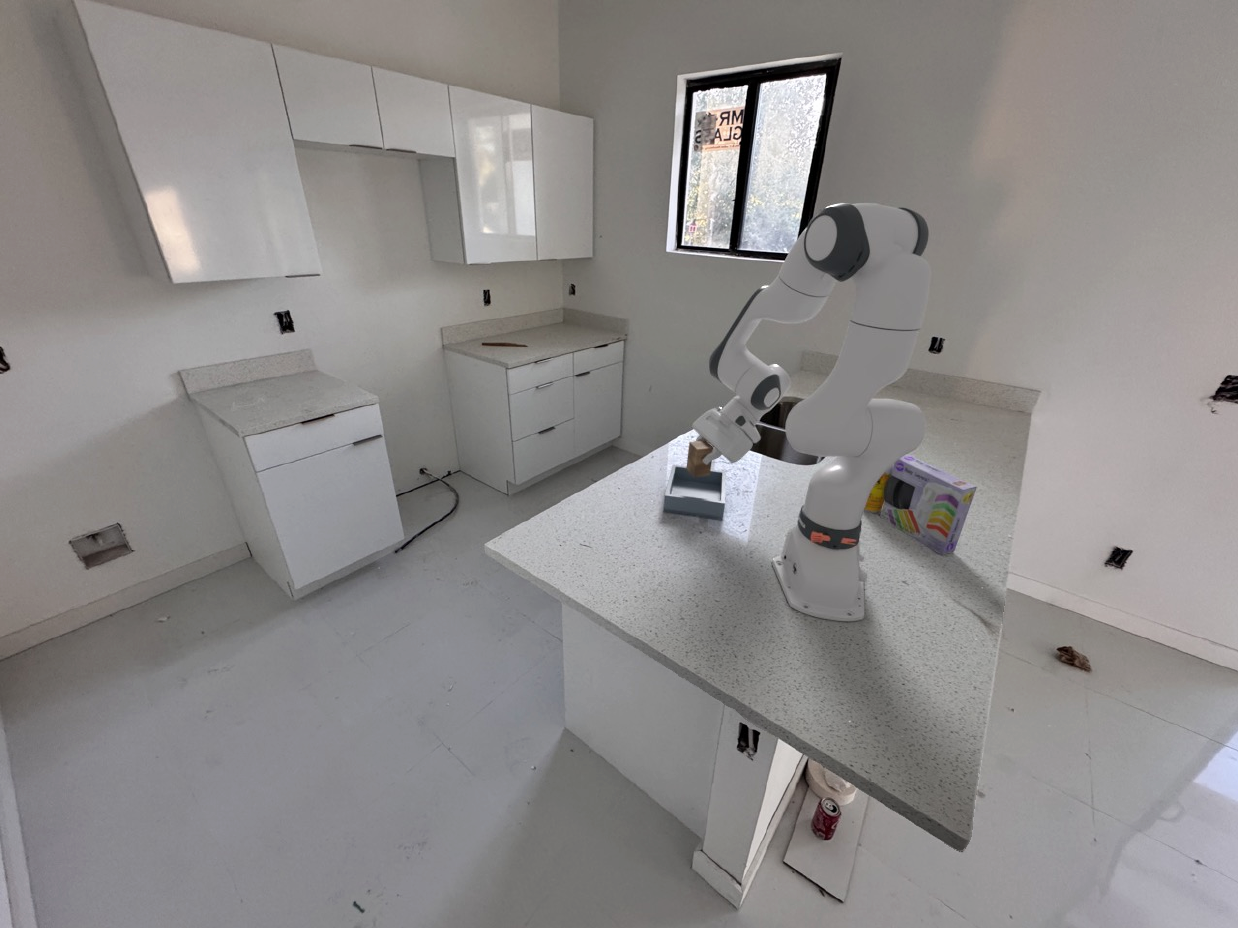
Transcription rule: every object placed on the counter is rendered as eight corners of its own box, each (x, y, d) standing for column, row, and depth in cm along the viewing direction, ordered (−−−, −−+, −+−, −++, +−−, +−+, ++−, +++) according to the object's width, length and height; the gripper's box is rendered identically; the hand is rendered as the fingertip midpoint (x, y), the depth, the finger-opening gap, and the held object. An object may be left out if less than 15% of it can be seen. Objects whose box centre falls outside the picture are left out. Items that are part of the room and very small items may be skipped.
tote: (722, 520, 125) (725, 503, 122) (663, 512, 127) (664, 495, 125) (723, 487, 141) (726, 471, 138) (671, 480, 143) (672, 464, 141)
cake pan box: (874, 514, 130) (893, 453, 122) (888, 511, 132) (908, 451, 124) (939, 557, 114) (966, 490, 106) (955, 553, 116) (982, 487, 108)
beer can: (855, 509, 132) (870, 459, 125) (857, 499, 137) (871, 450, 130) (880, 516, 130) (897, 464, 123) (881, 505, 134) (897, 456, 128)
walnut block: (709, 475, 129) (713, 447, 126) (693, 477, 128) (697, 449, 124) (701, 467, 133) (705, 440, 130) (686, 469, 132) (689, 441, 128)
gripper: (710, 397, 134) (674, 434, 135) (751, 426, 117) (709, 467, 118) (723, 411, 137) (687, 447, 139) (764, 441, 120) (723, 481, 122)
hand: (697, 457), depth 128 cm, fingers closed on walnut block, 5 cm apart
